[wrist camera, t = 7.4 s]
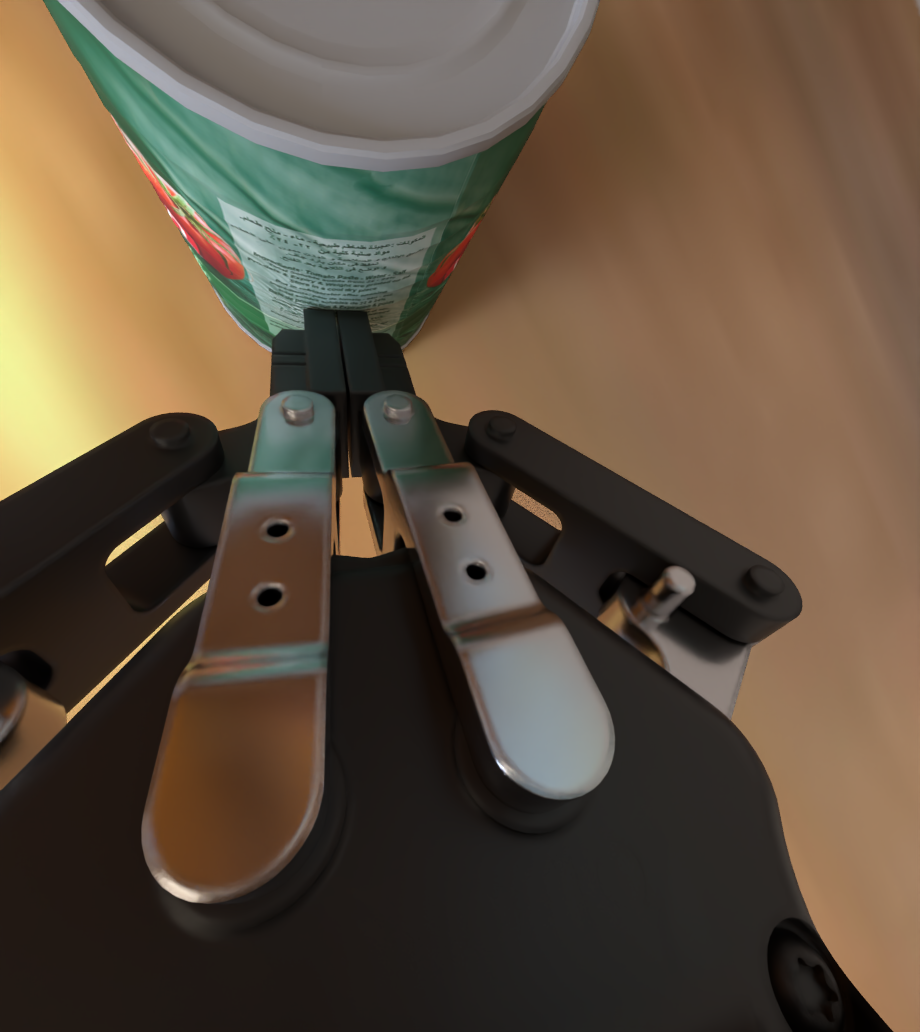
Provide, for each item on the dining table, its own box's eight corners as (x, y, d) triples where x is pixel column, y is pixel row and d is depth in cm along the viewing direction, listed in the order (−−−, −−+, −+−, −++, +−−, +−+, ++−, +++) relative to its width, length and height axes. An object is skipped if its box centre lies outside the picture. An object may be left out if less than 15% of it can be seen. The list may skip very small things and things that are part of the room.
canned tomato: (472, 317, 17) (699, 52, 7) (288, 412, 15) (202, 260, 5) (365, 105, 15) (440, -700, 5) (147, 185, 14) (-432, -759, 3)
